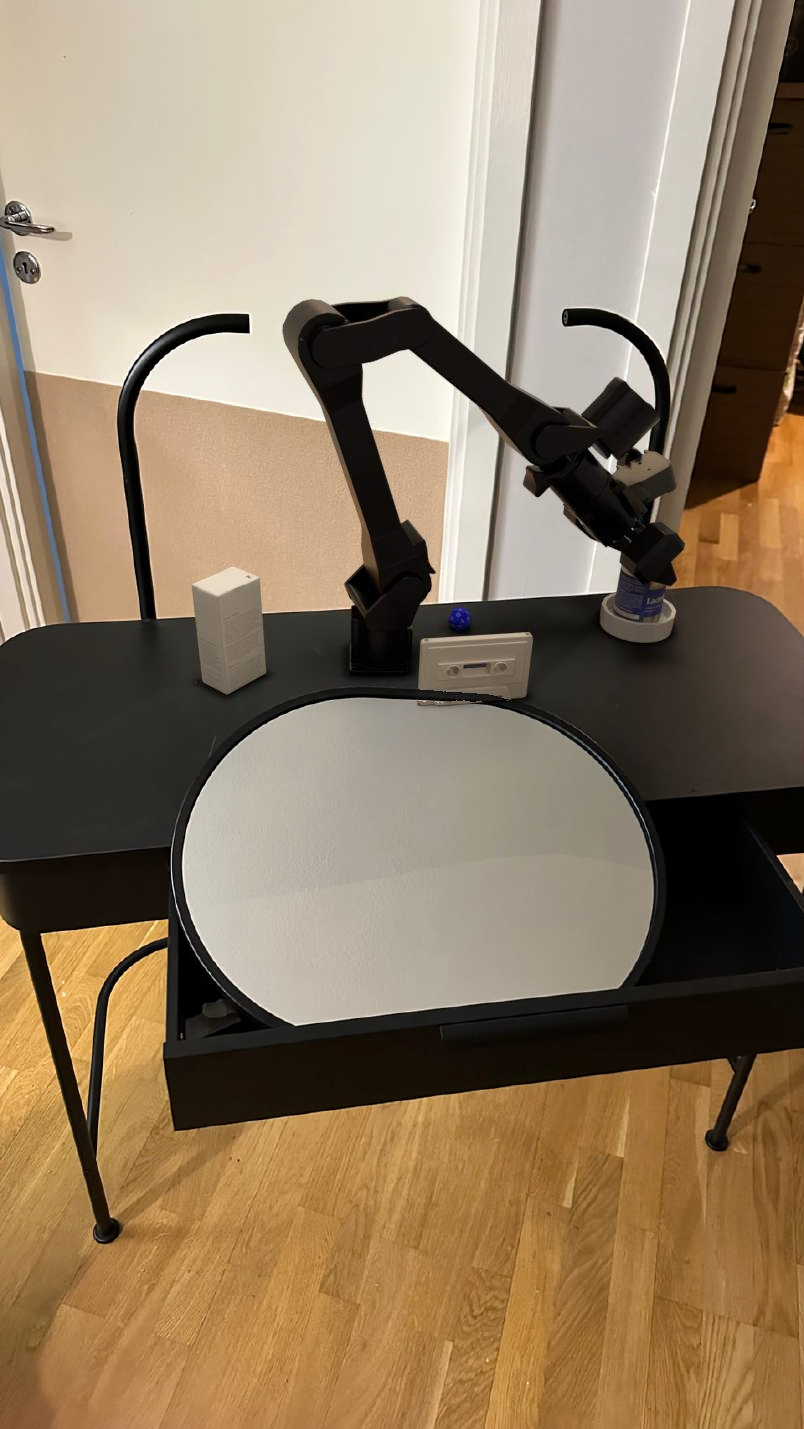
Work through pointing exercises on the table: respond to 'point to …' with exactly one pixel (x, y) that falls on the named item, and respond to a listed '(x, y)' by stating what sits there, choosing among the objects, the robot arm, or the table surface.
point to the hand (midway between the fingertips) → (656, 568)
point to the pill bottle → (638, 599)
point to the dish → (636, 623)
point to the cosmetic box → (229, 629)
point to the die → (459, 618)
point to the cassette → (477, 649)
